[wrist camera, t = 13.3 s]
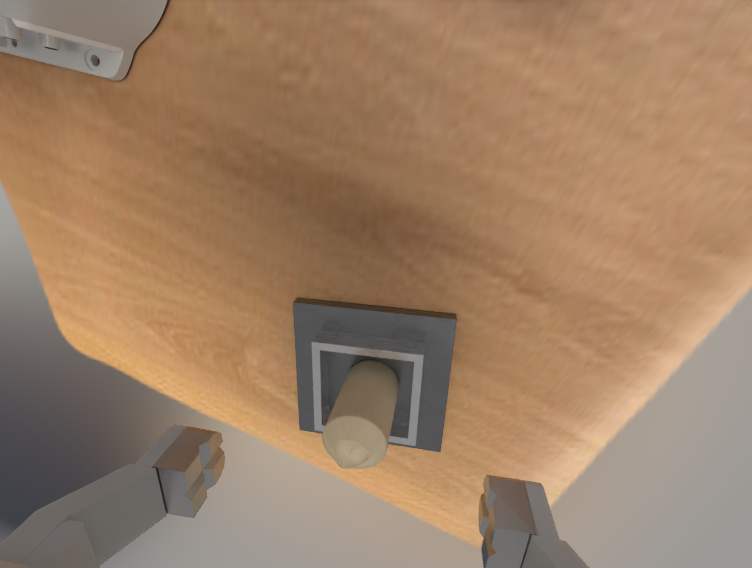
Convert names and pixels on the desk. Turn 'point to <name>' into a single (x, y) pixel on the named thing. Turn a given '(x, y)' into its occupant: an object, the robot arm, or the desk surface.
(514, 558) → the robot arm
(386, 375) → the candle
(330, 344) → the candle stand
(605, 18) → the desk surface
